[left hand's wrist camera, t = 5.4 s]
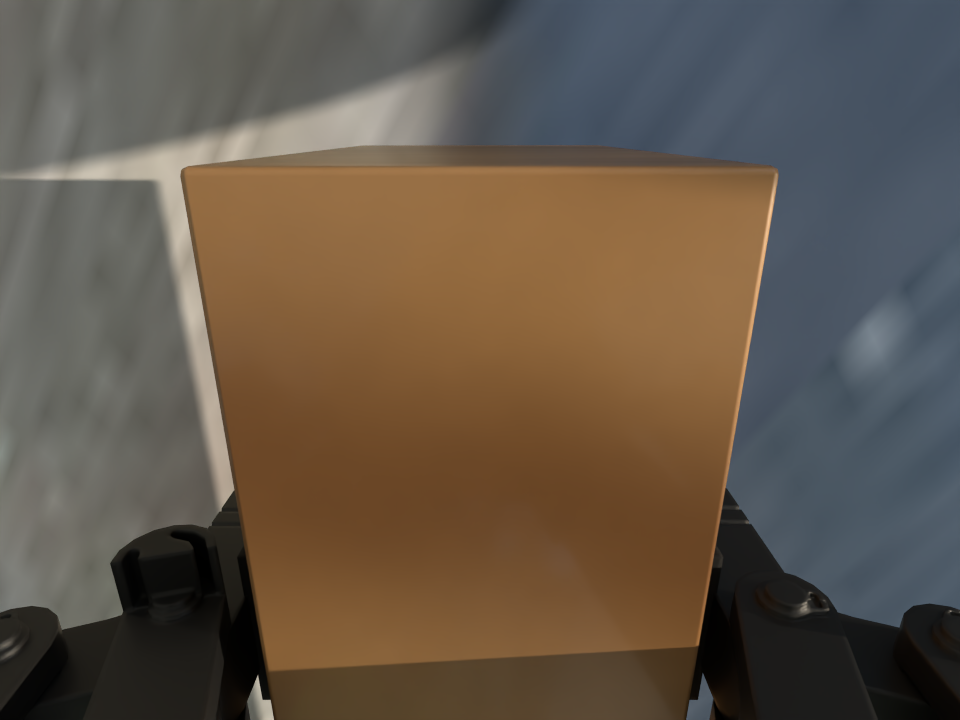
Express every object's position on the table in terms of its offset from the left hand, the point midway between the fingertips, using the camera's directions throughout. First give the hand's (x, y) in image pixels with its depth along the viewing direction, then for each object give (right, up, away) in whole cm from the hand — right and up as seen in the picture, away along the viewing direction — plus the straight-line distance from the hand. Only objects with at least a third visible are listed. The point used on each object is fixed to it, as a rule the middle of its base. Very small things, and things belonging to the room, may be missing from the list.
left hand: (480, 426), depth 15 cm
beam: (0, -27, +11) cm, 29 cm away
